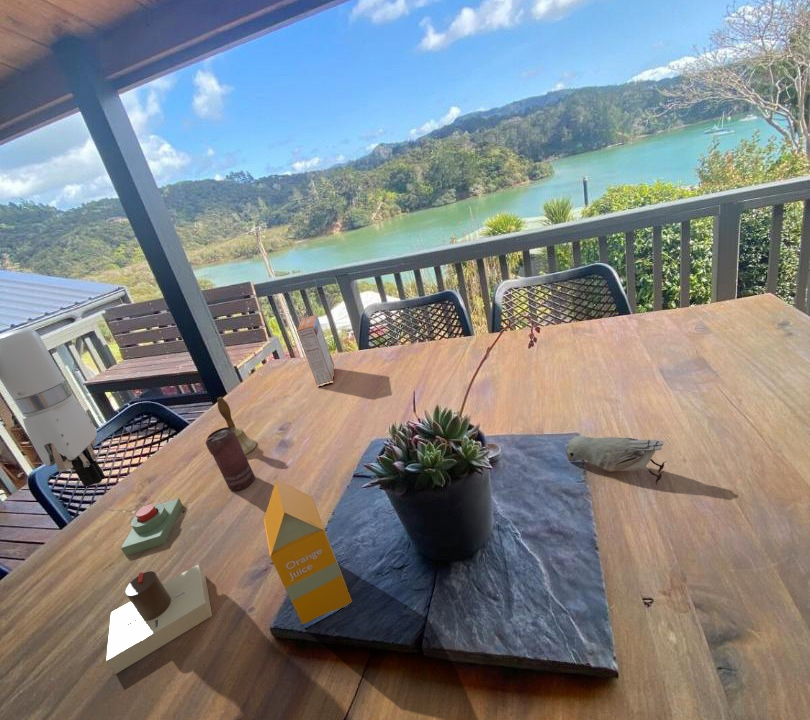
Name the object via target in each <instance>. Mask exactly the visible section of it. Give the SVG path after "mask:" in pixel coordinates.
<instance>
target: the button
mask: <svg viewBox="0 0 810 720" xmlns="http://www.w3.org/2000/svg"><path fill="white" fill-rule="evenodd" d="M154 505H155V504H153V503H149V504H147V505H144V506H142V507H141V508H139V509H138V510H137V511H136V513H135V516H136V517H137V518H138V520H139V522H141V523H142V522H145V521H148V520H149V519H151V518H153V517H154V516H155V515H156V514H157V510H156V508H155V506H154Z"/></svg>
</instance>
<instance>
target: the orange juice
mask: <svg viewBox="0 0 810 720" xmlns="http://www.w3.org/2000/svg"><path fill="white" fill-rule="evenodd" d="M272 488H273V489H272V490H271V491H272V492H271V495H270V498H269V501H268V502H269V503H268V505H267V508H266V511H265V514H264V517H263V524H264V530H265V535H266V542H267V548H268V553H269V558H270V559H271V562H272V564H273V566H274V568H275V570H276V572H277V574H278V576H279V579H280V580H281V583H282V584H283V587H284V589H285V591H286V594H287V596H288V599H289V600H290V602H291V603H292V605H293V607H294V610H295V612H296V614H297V616H298V619H299V620H300V622H301V624H302V625H303V624H305V623H307V622H309V621H311V620H313V619H315V618H317V617H319V616H321V615H324V614H326V613H328V612H331V611H333V610H336V609H340V608H342V607H343V606H345V605H347V604H349V603H351V602H353V600H352V596H351V595H350V593H349V592H348V591H349V589H348V586H347V584H346V581H345V578H344V576H343V573H342V570H341V568H340V567H341V566H340V565H338V564H339V561H338V560H337V557H336V555H335V551H334V550H333V548H332V547H333V546H332V544H331V541H330V538H329V536H328V533H327V530H326V528H325V525H323V524H324V523H323V520H322V518H321V516H320V513H319V511H318V508H317V505H316V502H315V499H314V497H313V496H312V495H310V494H308V493H306V492H304V491H301V490H300V489H298V488H295V487H294V486H292V485H290V484H287V483H285V482H283V481H281V480H279V479H278V478H275V482H274V485H273V487H272Z"/></svg>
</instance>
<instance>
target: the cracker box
mask: <svg viewBox="0 0 810 720" xmlns="http://www.w3.org/2000/svg"><path fill="white" fill-rule="evenodd" d="M319 319H320V318H319V317H318V315H317V314H315V315H311V316H306V317H304V318H301V319H300V322H299V325H298V328H297V330H296V333H297V335H298V338H299V341H300V343H301V346H302V348H303V351H304V354H305V357H306V359H307V363H308V365H309V368H310V370H311V373H312V375H313V376H312V377H313V379H314V381H315V384H316V386H317V385H320V384H323V383H327V382H330V381H333V374H334V366H335V364H334V363H335V362H334V360H333V357H332V355H331V351H330V348H329V345H328V343H327V340H326V337H325V335H324V331H323V327H322V325H321V322H320V320H319ZM334 375H335V374H334Z"/></svg>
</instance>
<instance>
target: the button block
mask: <svg viewBox="0 0 810 720" xmlns="http://www.w3.org/2000/svg"><path fill="white" fill-rule="evenodd" d="M153 505H154V506H155V508H156V510H157V514H156V515H155V516H154V517H153V518H151V519H149V520H148V521H145V522H142V523H141V522H139V520H138V518H137V517H136V515H135V516H134V517H133V518H132V520H131V522H130V524H131V527H132V528H131V530H130V531H129V533H128V535H127V537H126V538H125V540H124V542H123V543H122V545H121V546H120V549H121V551H122V552H123V554H124V556H130V555H133V554H136V553H140V552H143V551H146V550H149V549H152V548H156V547H160V546H162V545H165V544H166V542H167V540H168V539H169V536H170V535H171V532H172V530H173V528H174V526H175V524H176V521H177V519H178V518H179V516H180V513H181V511H182V509H183V506H184V505H183V503H182V501H181V499H180V498H178V497H177V498H176V499H172V500H168V501H166V502H163V503H156V504H153Z"/></svg>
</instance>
